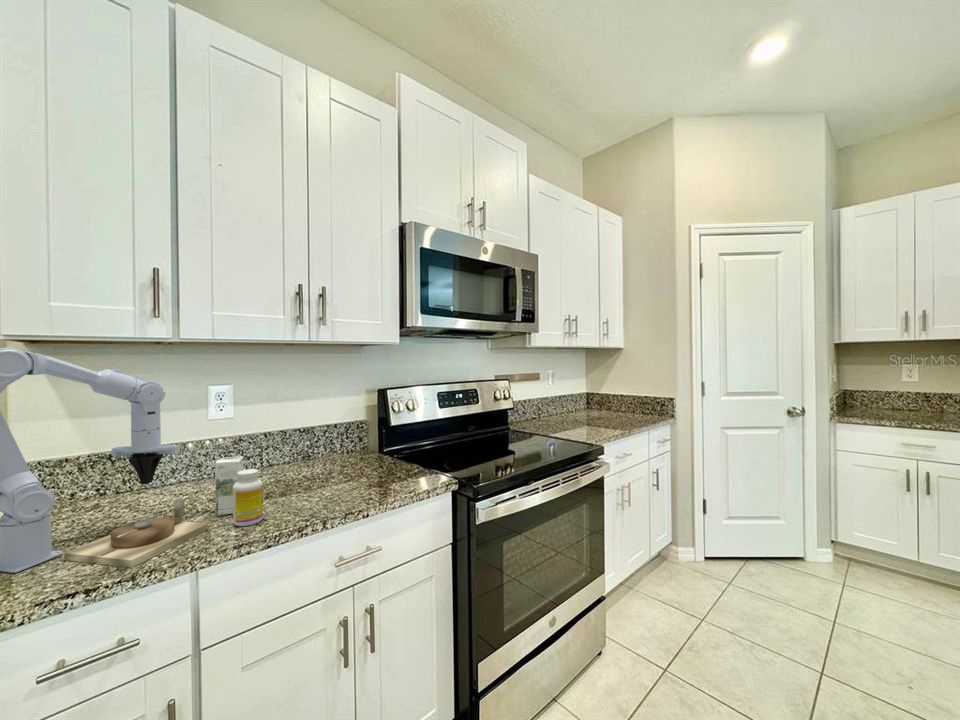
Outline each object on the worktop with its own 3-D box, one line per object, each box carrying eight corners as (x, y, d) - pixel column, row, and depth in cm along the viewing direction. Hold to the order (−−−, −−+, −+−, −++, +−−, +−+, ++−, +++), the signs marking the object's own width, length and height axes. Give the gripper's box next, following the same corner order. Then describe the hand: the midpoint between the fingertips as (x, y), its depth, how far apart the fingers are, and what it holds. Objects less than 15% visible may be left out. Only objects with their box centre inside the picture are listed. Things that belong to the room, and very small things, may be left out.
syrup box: (244, 506, 114) (243, 455, 113) (240, 514, 108) (239, 460, 108) (220, 509, 111) (219, 457, 111) (215, 517, 106) (214, 462, 106)
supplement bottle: (267, 521, 103) (266, 471, 103) (238, 529, 98) (237, 476, 98) (257, 514, 108) (256, 466, 108) (229, 522, 103) (228, 471, 103)
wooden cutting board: (64, 560, 84) (64, 552, 84) (150, 524, 101) (150, 518, 101) (131, 567, 80) (131, 559, 80) (208, 529, 98) (208, 523, 98)
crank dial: (137, 549, 84) (136, 525, 84) (97, 544, 87) (96, 520, 87) (201, 521, 99) (201, 500, 99) (165, 517, 101) (165, 496, 101)
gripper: (186, 425, 106) (187, 477, 106) (126, 427, 105) (127, 479, 105) (169, 430, 99) (170, 485, 99) (104, 432, 98) (105, 488, 98)
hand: (146, 483), depth 102 cm, fingers closed
